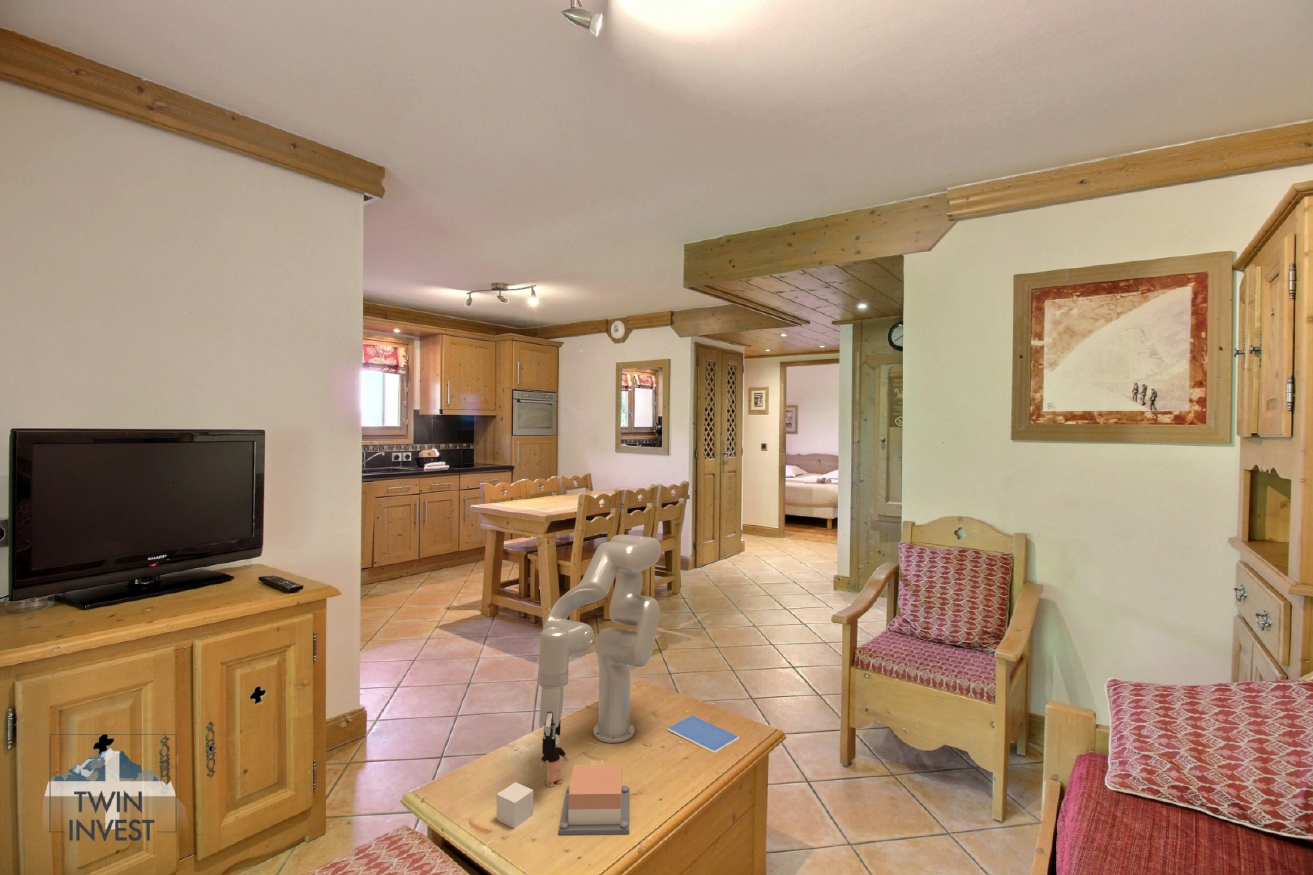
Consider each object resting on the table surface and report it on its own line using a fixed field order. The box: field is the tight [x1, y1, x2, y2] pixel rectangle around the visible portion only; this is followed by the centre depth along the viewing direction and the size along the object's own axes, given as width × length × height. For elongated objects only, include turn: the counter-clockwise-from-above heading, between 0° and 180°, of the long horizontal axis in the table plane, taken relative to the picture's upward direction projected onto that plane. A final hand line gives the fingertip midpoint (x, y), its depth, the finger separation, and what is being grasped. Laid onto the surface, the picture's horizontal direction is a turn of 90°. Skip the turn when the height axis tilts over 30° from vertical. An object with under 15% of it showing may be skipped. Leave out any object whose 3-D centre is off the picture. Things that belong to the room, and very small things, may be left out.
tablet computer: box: [666, 715, 740, 754], centre depth 181 cm, size 19×13×1 cm, turn 46°
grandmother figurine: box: [538, 734, 569, 788], centre depth 154 cm, size 8×4×13 cm, turn 134°
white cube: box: [496, 781, 534, 829], centre depth 140 cm, size 6×6×6 cm
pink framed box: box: [557, 764, 631, 836], centre depth 142 cm, size 16×16×8 cm
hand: (551, 744), depth 153 cm, fingers open, 9 cm apart
